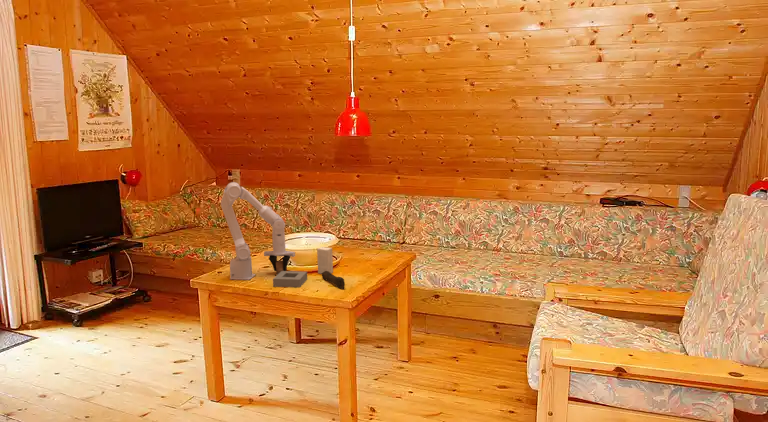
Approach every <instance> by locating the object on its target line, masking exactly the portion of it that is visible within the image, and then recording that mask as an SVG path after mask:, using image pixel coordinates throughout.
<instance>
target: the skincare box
mask: <svg viewBox="0 0 768 422" xmlns="http://www.w3.org/2000/svg"><path fill="white" fill-rule="evenodd" d="M316 254H317V256H316V257H317V258H316V259H317V274H321V275H322V273H323V272H324V271H329V272H330V273H331V274H333V273H334V266H333V263H334V261H333V260H334V259H333V248H332V247H324V246H320V247H318V248H316Z"/></svg>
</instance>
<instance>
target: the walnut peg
mask: <svg viewBox="0 0 768 422" xmlns="http://www.w3.org/2000/svg"><path fill="white" fill-rule="evenodd" d="M281 271H284V268H283V260H277V261H276V271H275V274H276V276H277V275H278V274H279V273H280V272H281Z"/></svg>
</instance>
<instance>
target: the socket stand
mask: <svg viewBox="0 0 768 422" xmlns="http://www.w3.org/2000/svg"><path fill="white" fill-rule="evenodd" d="M307 280H308V271H298V270H297V271H296V270H295V271H293V270H291V271H290V270H288V271H287V270H286V271H281V272H280V273H279V274H278V275H276V276H274V277H273V278H272V284H273V285H272V286H273V287H275V288H301V287H302V286H303V285H304V284H305V283H306V281H307Z"/></svg>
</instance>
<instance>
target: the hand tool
mask: <svg viewBox="0 0 768 422" xmlns="http://www.w3.org/2000/svg"><path fill="white" fill-rule="evenodd" d="M321 278H322V280H326V281H328V282H329V283H331V284H332V285H335V287H336V288H337V289H340V290H345V286H346V282H345V279H344V278H343V277H341V276H336V275H334V274H333V273H330V272H329V271H324V272H323V273H322V274H321Z"/></svg>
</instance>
